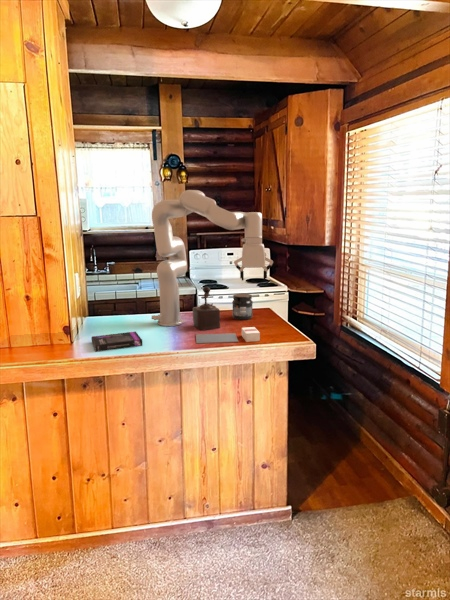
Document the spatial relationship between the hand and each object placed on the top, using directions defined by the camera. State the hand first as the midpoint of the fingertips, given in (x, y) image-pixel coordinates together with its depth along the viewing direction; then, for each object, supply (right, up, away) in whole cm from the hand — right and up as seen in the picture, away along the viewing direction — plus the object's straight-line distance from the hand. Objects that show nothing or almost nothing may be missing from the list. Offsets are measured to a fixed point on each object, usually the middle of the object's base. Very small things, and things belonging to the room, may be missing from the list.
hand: (253, 279), depth 196 cm
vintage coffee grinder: (-22, -22, +21) cm, 37 cm away
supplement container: (-4, -18, +34) cm, 39 cm away
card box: (-1, -26, 0) cm, 26 cm away
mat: (-16, -26, -1) cm, 31 cm away
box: (-59, -28, -6) cm, 66 cm away
